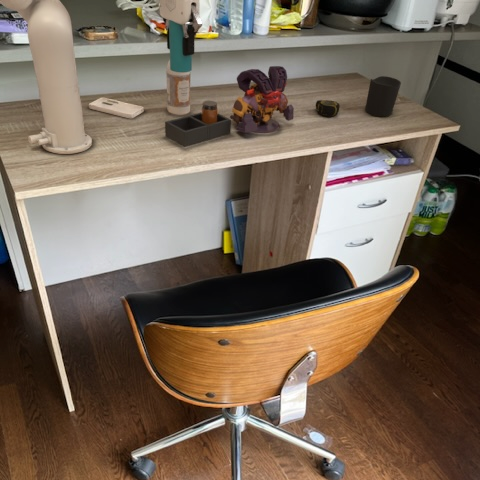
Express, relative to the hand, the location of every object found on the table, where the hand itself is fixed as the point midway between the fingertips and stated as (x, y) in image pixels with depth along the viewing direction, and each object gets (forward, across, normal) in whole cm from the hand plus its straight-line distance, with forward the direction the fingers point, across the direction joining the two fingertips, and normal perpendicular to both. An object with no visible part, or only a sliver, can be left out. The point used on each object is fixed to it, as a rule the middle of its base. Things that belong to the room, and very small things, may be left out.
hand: (180, 50), depth 130 cm
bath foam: (+23, -18, +12) cm, 31 cm away
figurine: (+23, +6, +24) cm, 34 cm away
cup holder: (+23, +1, +5) cm, 24 cm away
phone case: (+23, -28, -3) cm, 37 cm away
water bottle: (+4, 0, 0) cm, 4 cm away
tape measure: (+23, +8, +51) cm, 57 cm away
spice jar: (+22, +1, +9) cm, 24 cm away
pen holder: (+23, +18, +67) cm, 73 cm away
